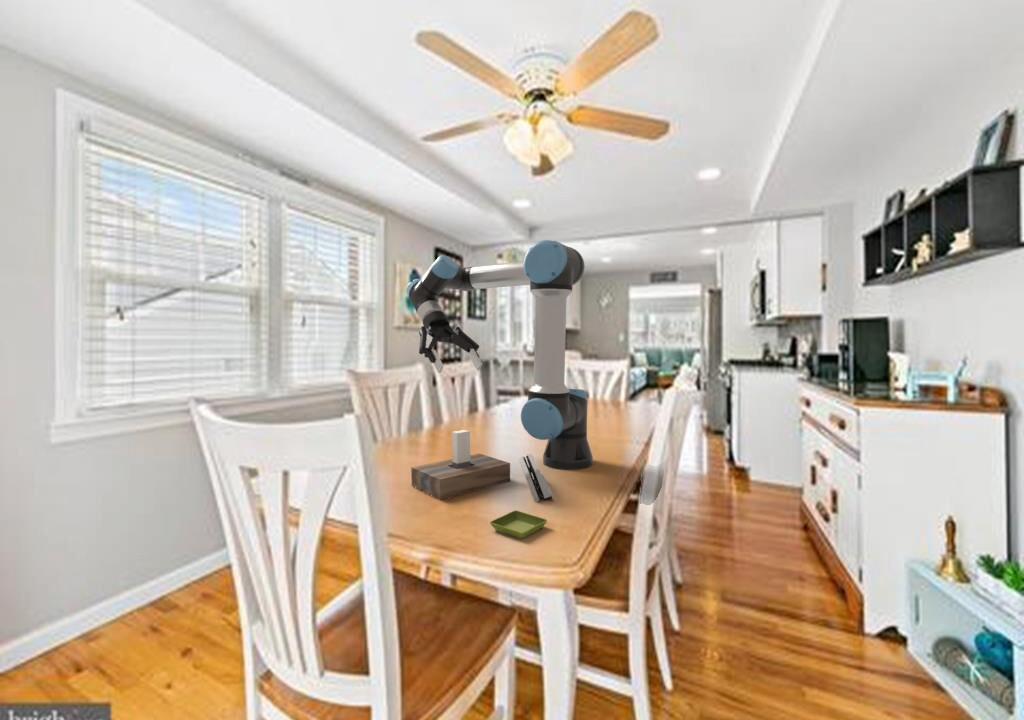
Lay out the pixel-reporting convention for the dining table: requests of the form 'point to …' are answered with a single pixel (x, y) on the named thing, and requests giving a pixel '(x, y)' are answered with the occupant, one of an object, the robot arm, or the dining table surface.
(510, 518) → the olive green shallow tray
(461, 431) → the rail end
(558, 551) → the dining table surface
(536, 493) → the grey curved slotted block
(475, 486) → the post foot
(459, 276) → the robot arm
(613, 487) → the dining table surface
